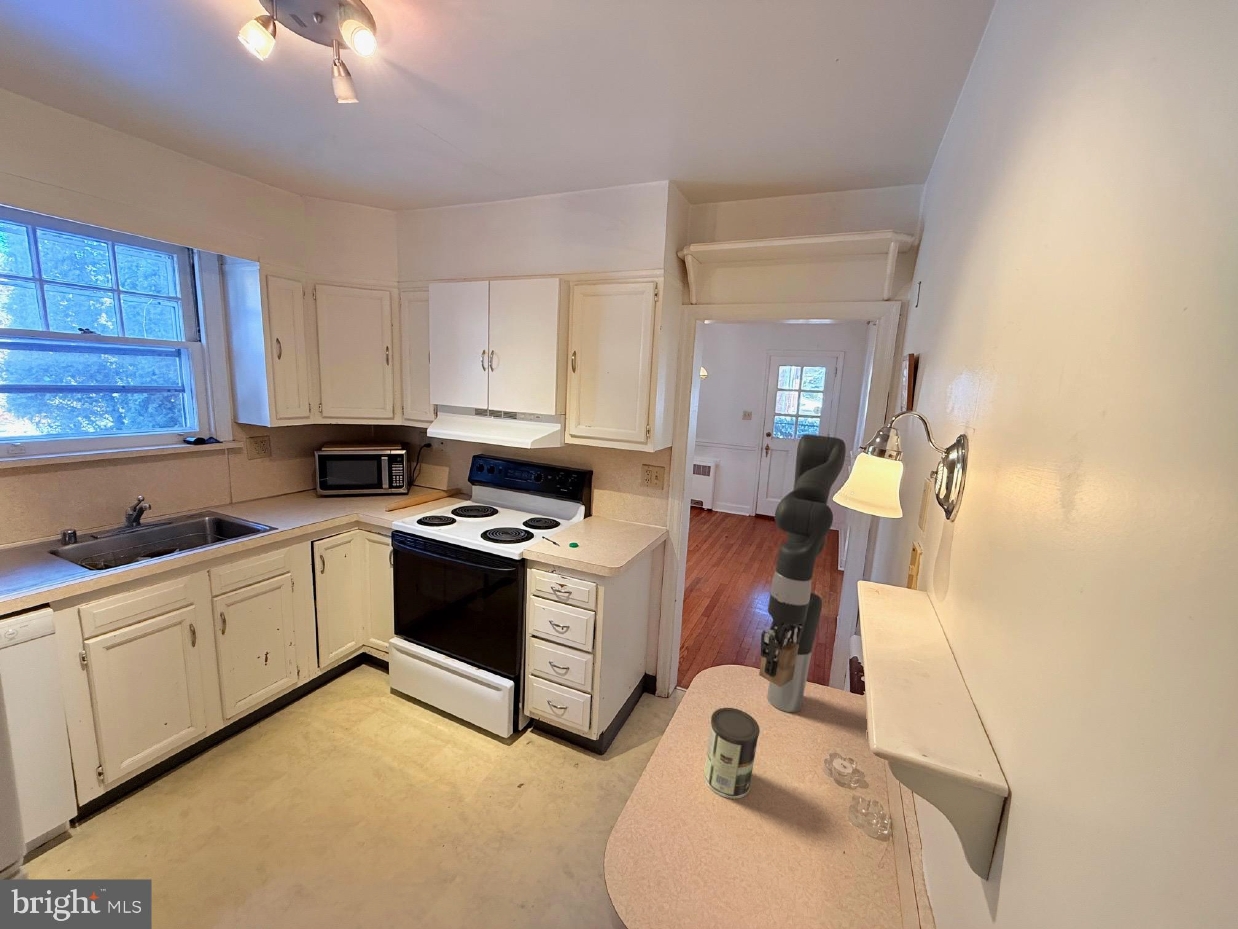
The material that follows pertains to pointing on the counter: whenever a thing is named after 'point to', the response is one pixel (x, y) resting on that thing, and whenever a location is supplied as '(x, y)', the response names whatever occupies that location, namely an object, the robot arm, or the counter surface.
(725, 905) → the counter surface
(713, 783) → the coffee can
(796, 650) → the walnut block
